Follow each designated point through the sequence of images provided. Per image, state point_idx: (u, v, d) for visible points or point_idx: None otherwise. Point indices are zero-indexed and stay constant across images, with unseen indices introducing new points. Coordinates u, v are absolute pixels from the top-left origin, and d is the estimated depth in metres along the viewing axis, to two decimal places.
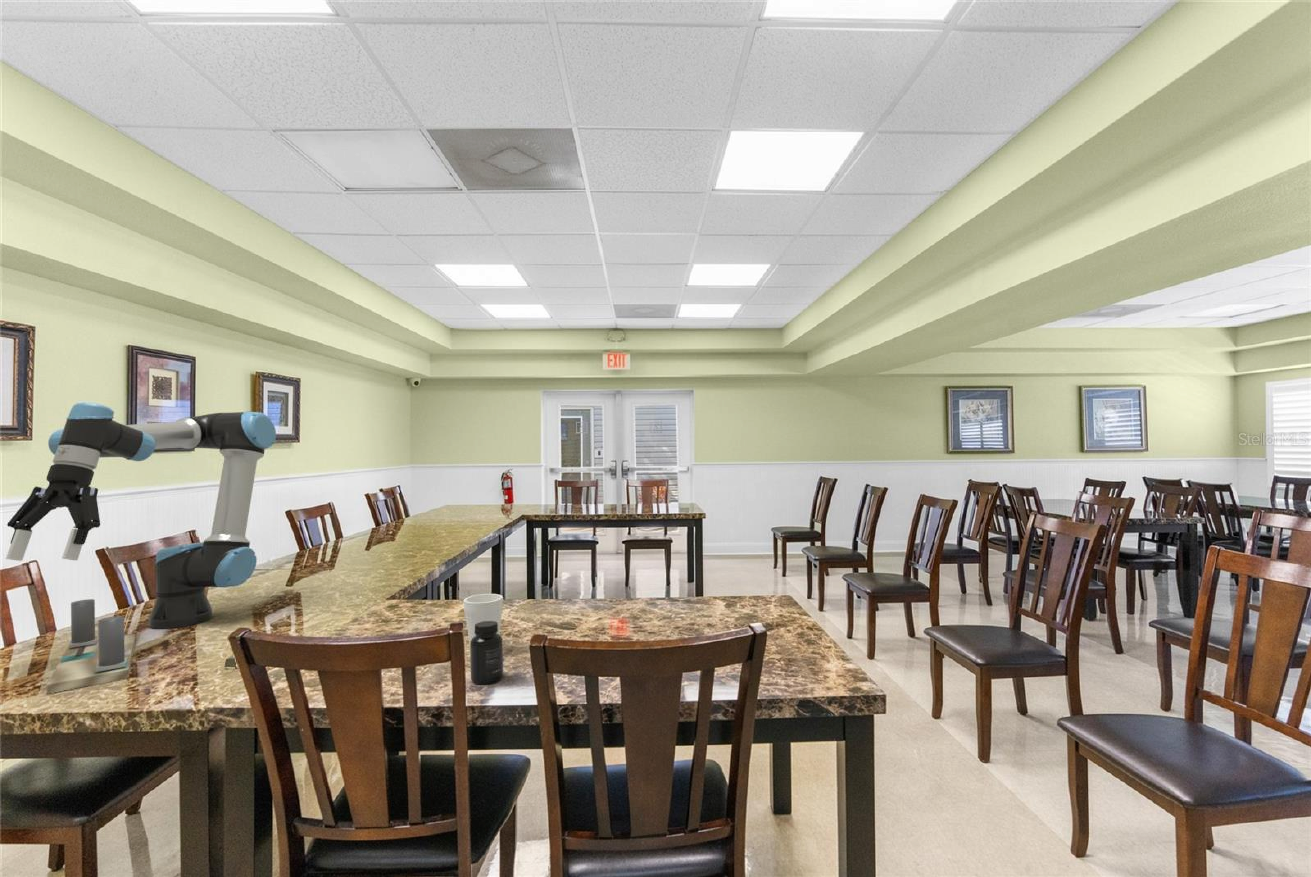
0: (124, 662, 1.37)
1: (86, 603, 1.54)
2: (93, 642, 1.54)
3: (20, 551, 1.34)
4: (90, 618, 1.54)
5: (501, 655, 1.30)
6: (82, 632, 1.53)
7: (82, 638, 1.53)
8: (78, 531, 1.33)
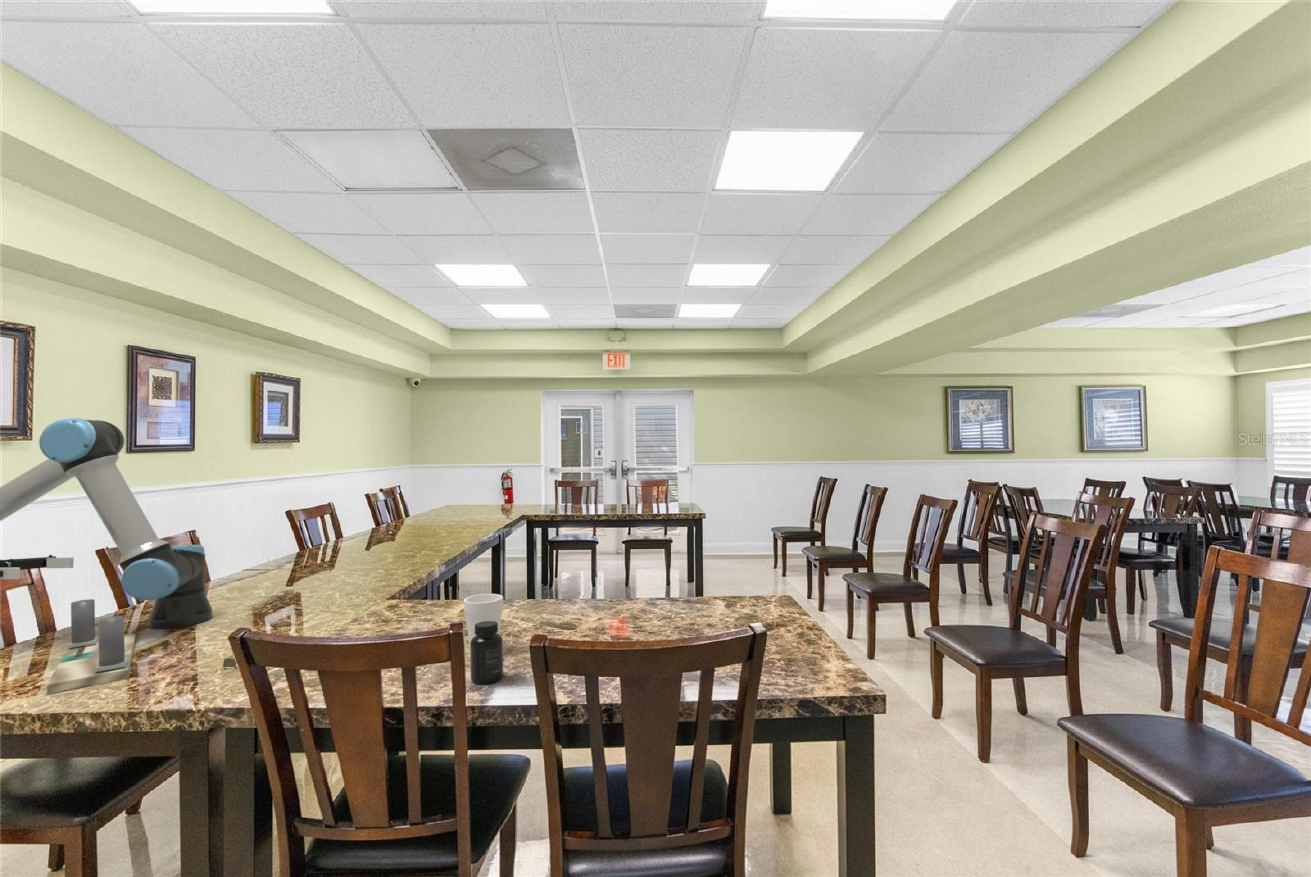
0: (124, 662, 1.37)
1: (86, 603, 1.54)
2: (93, 642, 1.54)
3: (63, 561, 1.61)
4: (90, 618, 1.54)
5: (501, 655, 1.30)
6: (82, 632, 1.53)
7: (82, 638, 1.53)
8: None
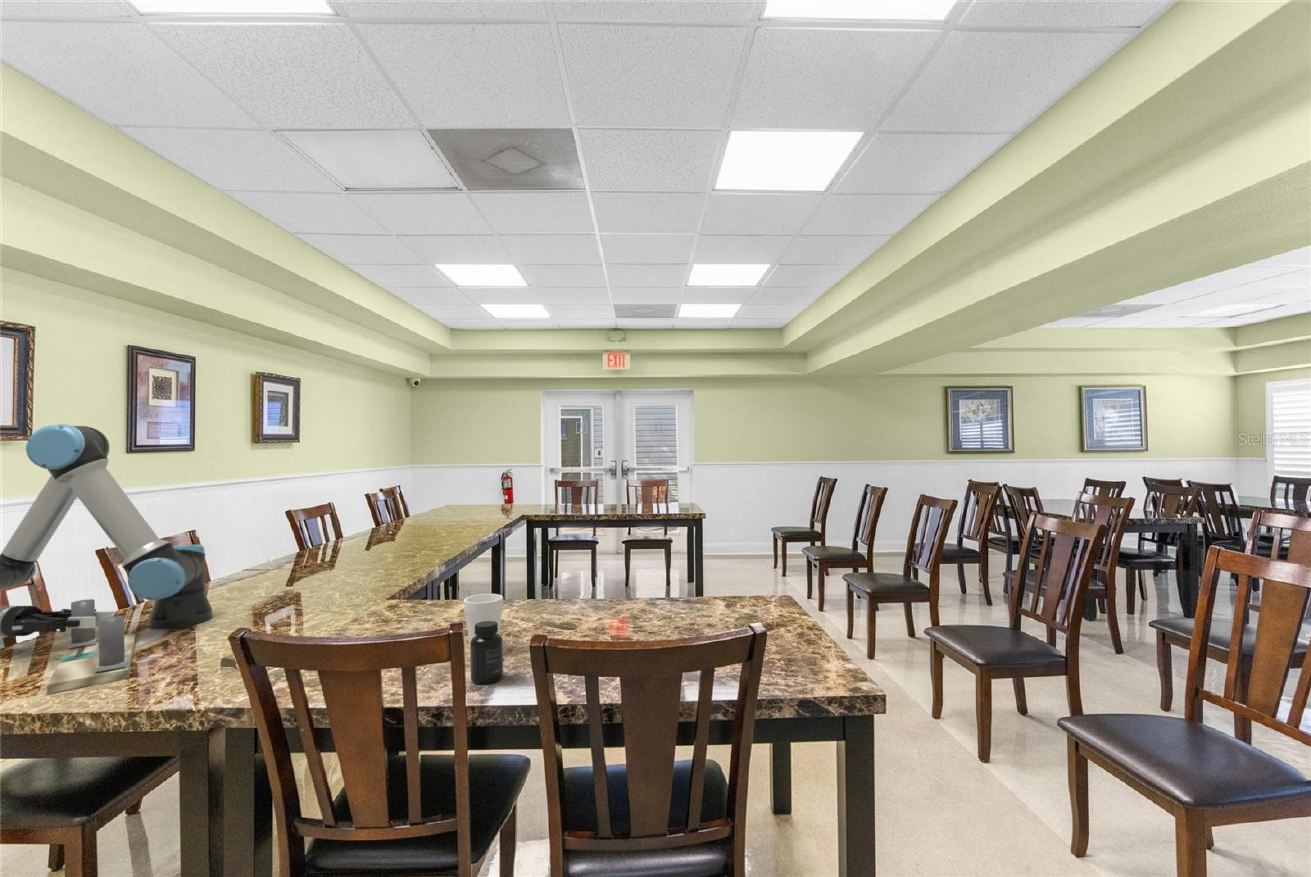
0: (124, 662, 1.37)
1: (86, 603, 1.54)
2: (93, 642, 1.54)
3: (104, 615, 1.57)
4: None
5: (501, 655, 1.30)
6: (82, 632, 1.53)
7: (82, 638, 1.53)
8: None
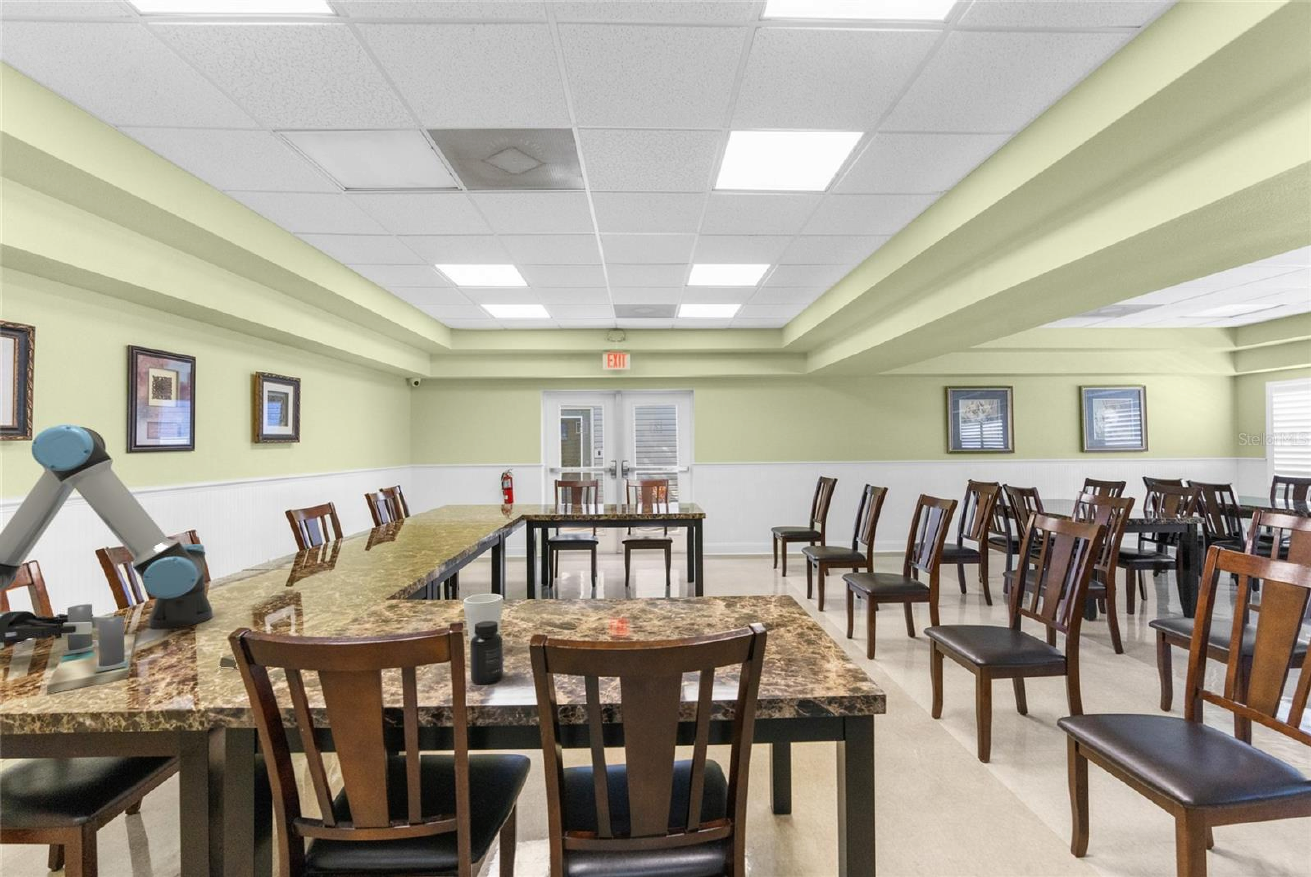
0: (124, 662, 1.37)
1: (83, 608, 1.48)
2: (90, 648, 1.49)
3: None
4: None
5: (501, 655, 1.30)
6: (79, 639, 1.48)
7: (79, 645, 1.48)
8: None
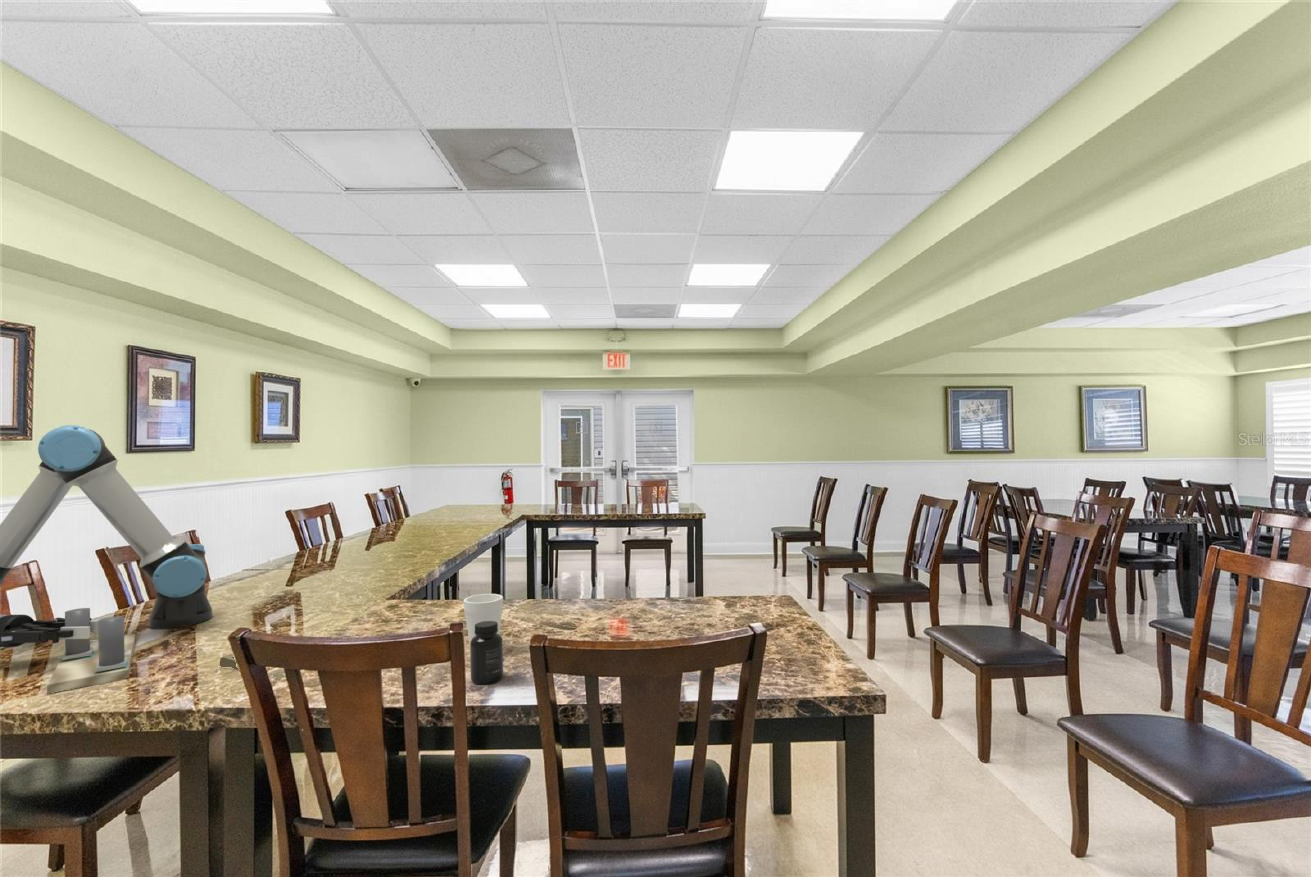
0: (124, 662, 1.37)
1: (81, 612, 1.45)
2: (88, 653, 1.45)
3: None
4: None
5: (501, 655, 1.30)
6: (76, 643, 1.44)
7: (77, 650, 1.44)
8: None
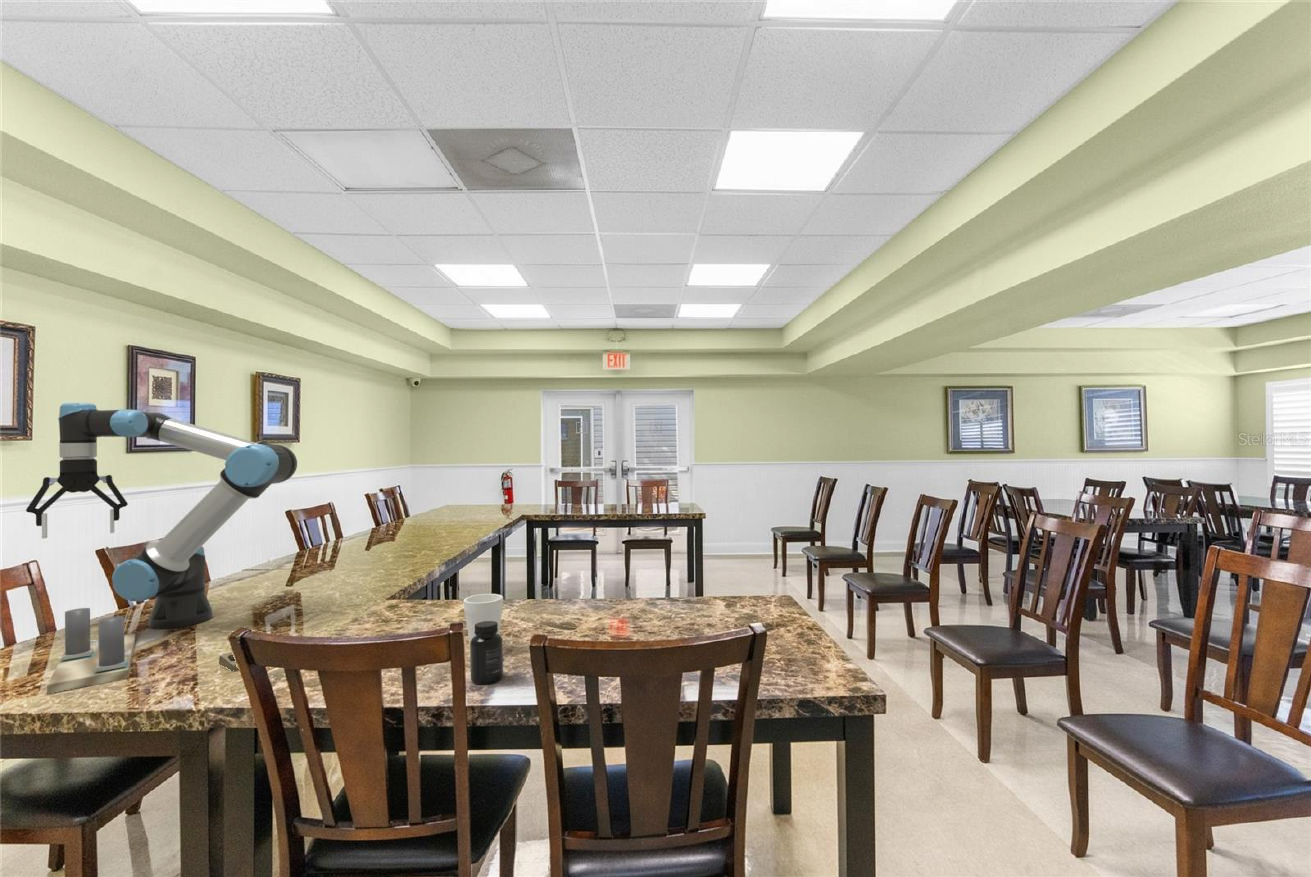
0: (124, 662, 1.37)
1: (81, 612, 1.45)
2: (88, 653, 1.45)
3: (110, 526, 1.71)
4: (85, 628, 1.45)
5: (501, 655, 1.30)
6: (76, 643, 1.44)
7: (77, 650, 1.44)
8: None
